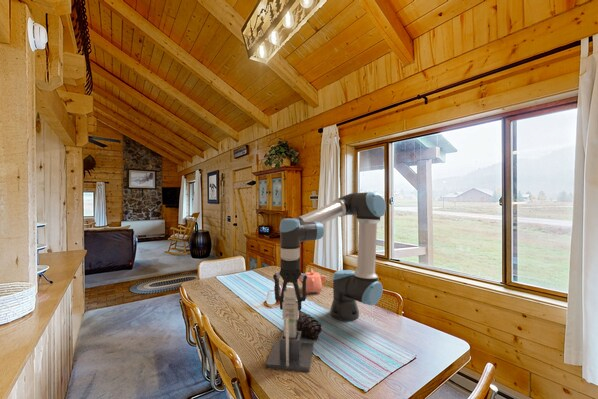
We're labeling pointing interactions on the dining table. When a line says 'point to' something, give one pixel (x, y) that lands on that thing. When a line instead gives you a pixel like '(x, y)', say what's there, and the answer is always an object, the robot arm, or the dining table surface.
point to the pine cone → (308, 326)
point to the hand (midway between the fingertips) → (290, 317)
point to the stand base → (290, 353)
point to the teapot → (313, 282)
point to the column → (290, 312)
